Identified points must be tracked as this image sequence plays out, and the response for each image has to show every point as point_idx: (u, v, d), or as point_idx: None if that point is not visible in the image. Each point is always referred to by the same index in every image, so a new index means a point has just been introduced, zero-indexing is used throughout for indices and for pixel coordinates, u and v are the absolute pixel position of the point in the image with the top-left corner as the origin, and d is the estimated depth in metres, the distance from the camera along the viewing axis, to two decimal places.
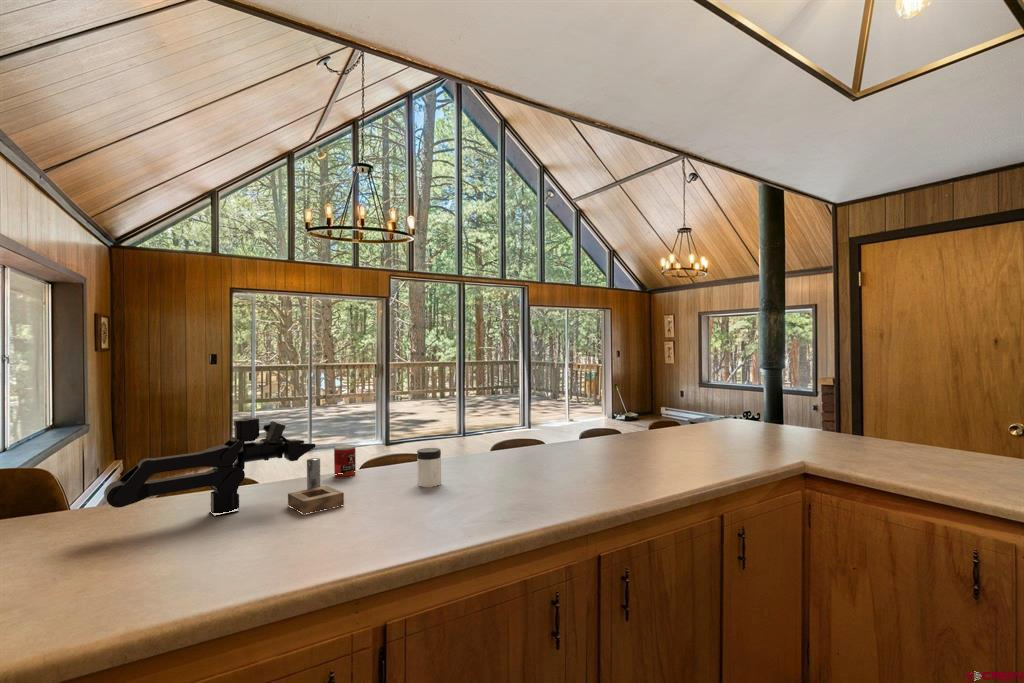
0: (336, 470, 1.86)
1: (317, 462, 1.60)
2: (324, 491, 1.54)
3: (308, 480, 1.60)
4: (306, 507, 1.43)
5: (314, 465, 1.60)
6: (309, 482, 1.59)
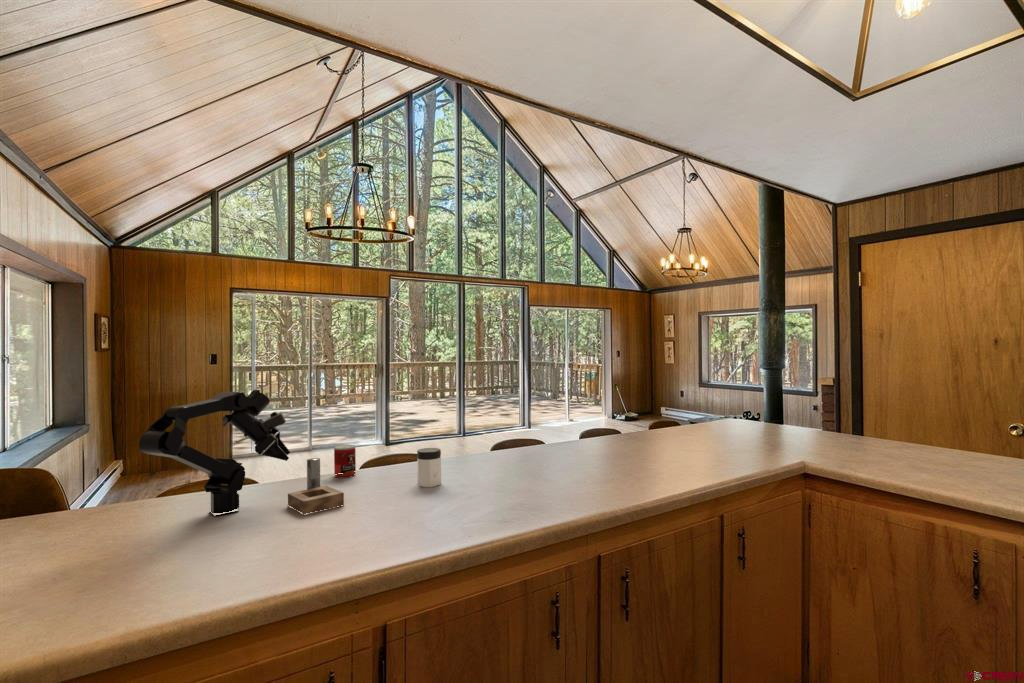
0: (336, 470, 1.86)
1: (317, 462, 1.60)
2: (324, 491, 1.54)
3: (308, 480, 1.60)
4: (306, 507, 1.43)
5: (314, 465, 1.60)
6: (309, 482, 1.59)
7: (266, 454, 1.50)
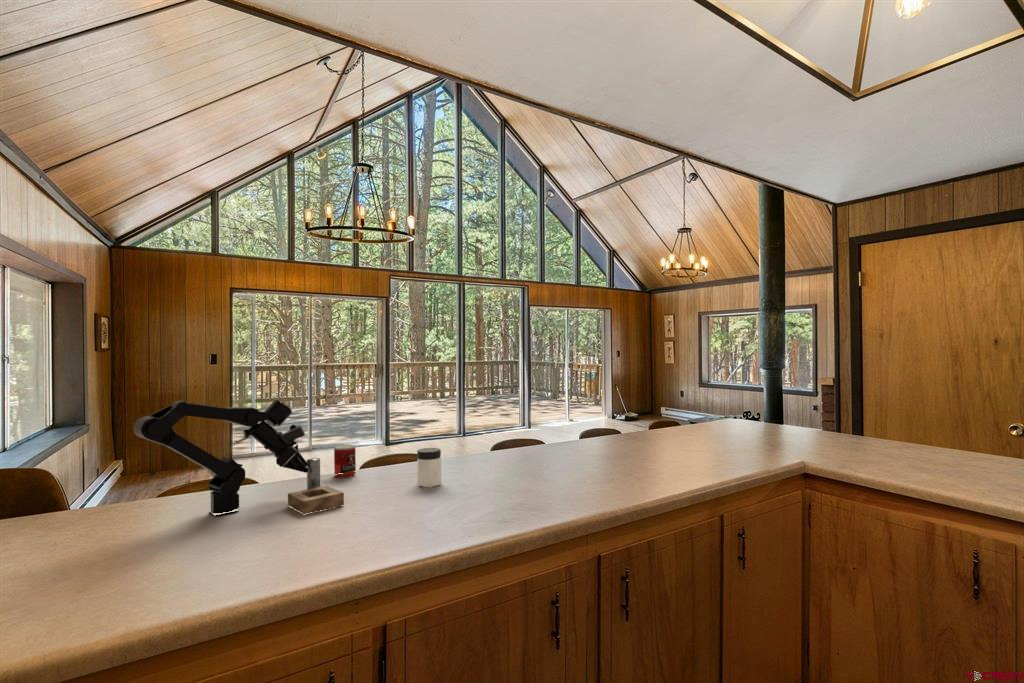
0: (336, 470, 1.86)
1: (317, 462, 1.60)
2: (324, 491, 1.54)
3: (308, 480, 1.60)
4: (306, 507, 1.43)
5: (314, 465, 1.60)
6: (309, 482, 1.59)
7: (287, 466, 1.53)
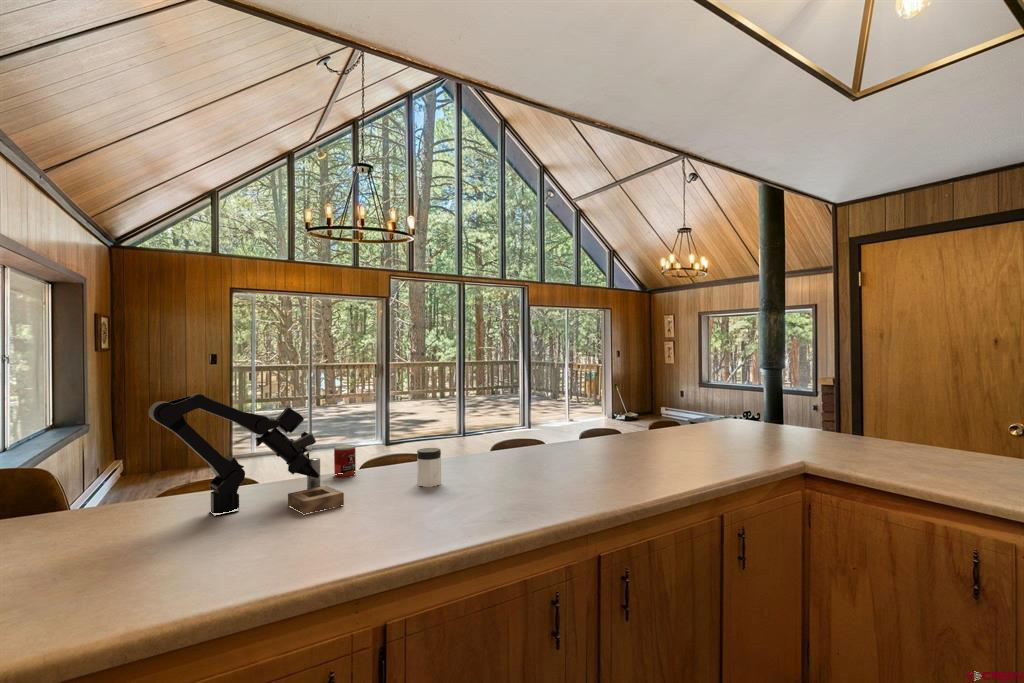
0: (336, 470, 1.86)
1: (317, 462, 1.60)
2: (324, 491, 1.54)
3: (308, 480, 1.60)
4: (306, 507, 1.43)
5: (314, 465, 1.60)
6: (309, 482, 1.59)
7: (298, 472, 1.56)
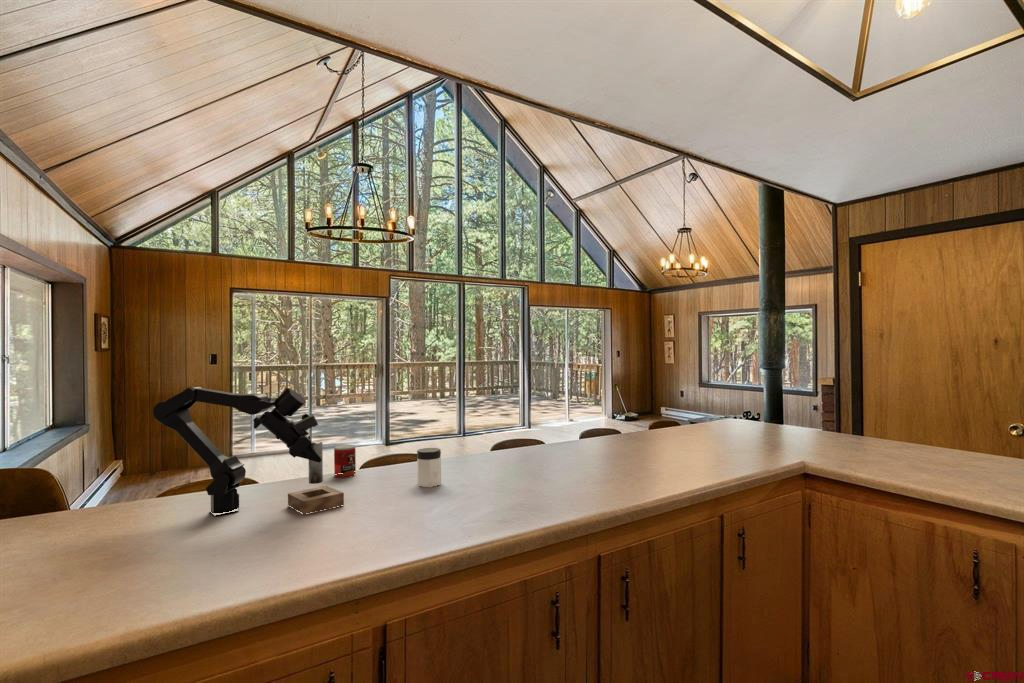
0: (336, 470, 1.86)
1: (319, 446, 1.51)
2: (324, 491, 1.54)
3: (310, 464, 1.50)
4: (306, 507, 1.43)
5: (316, 449, 1.51)
6: (311, 467, 1.50)
7: (300, 455, 1.47)
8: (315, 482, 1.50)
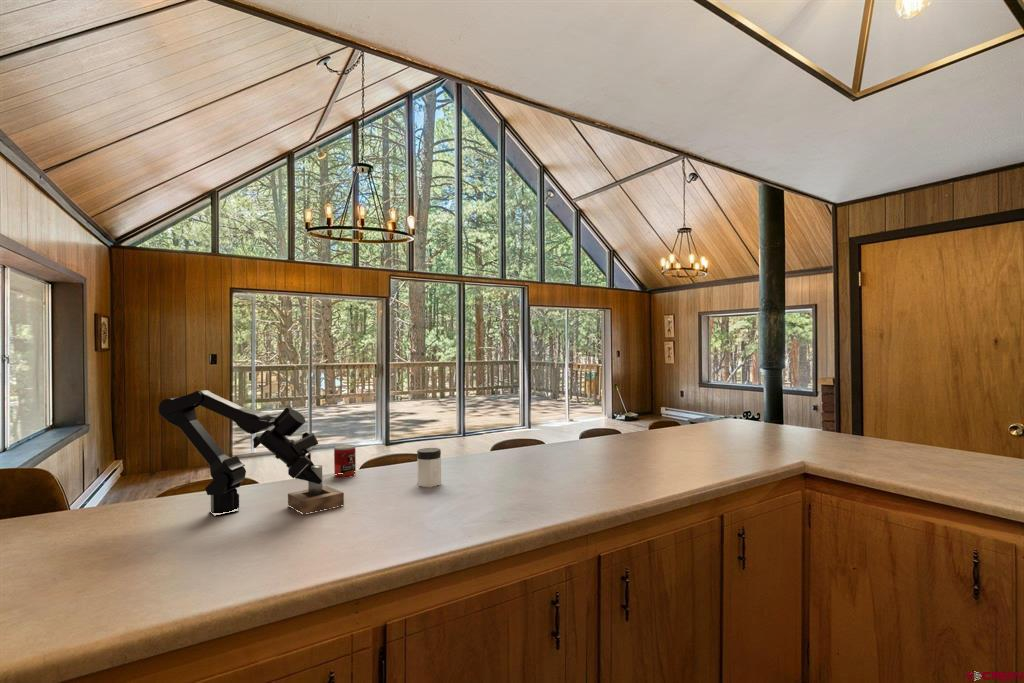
0: (336, 470, 1.86)
1: (319, 470, 1.50)
2: (324, 491, 1.54)
3: (309, 489, 1.49)
4: (306, 507, 1.43)
5: (316, 473, 1.49)
6: (311, 491, 1.49)
7: (299, 477, 1.43)
8: None
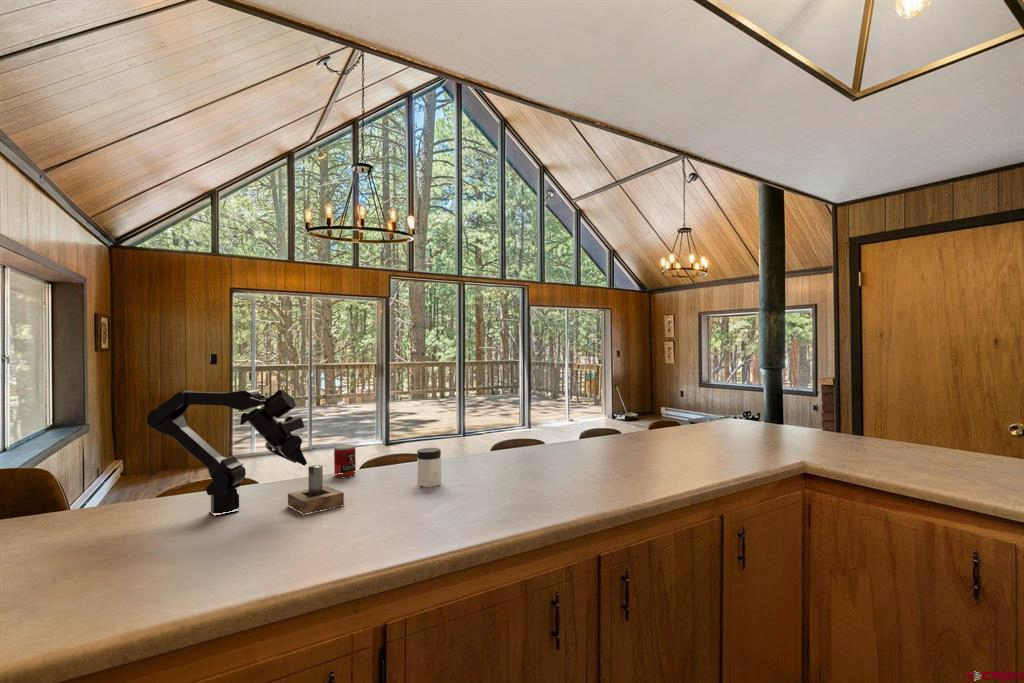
0: (336, 470, 1.86)
1: (319, 470, 1.50)
2: (324, 491, 1.54)
3: (310, 489, 1.49)
4: (306, 507, 1.43)
5: (316, 473, 1.49)
6: (311, 491, 1.49)
7: (288, 456, 1.45)
8: None
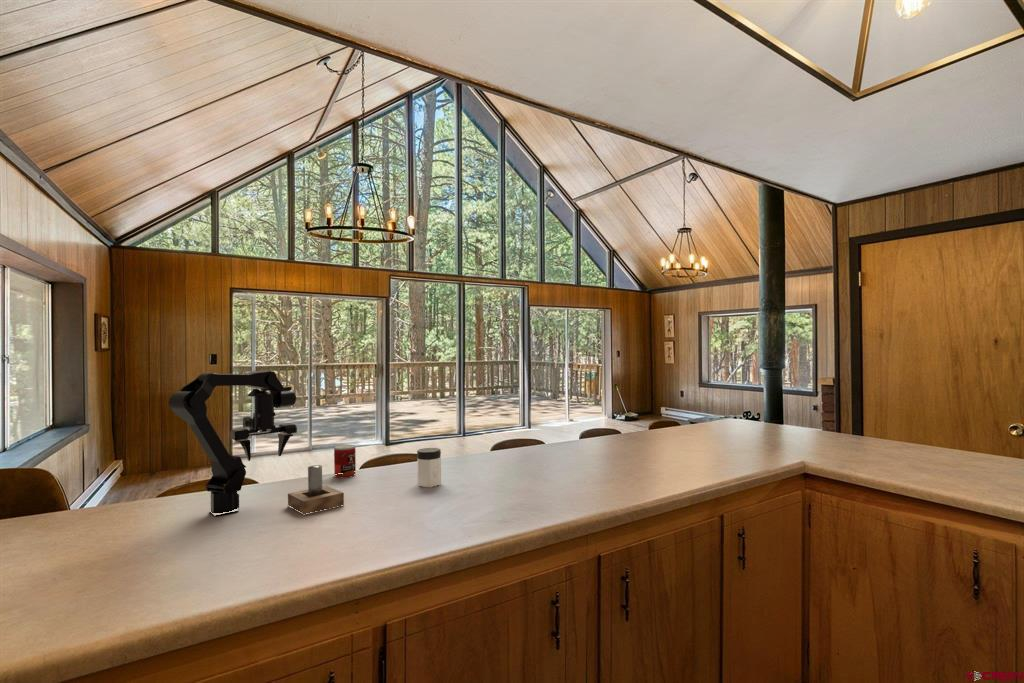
0: (336, 470, 1.86)
1: (319, 470, 1.50)
2: (324, 491, 1.54)
3: (309, 489, 1.49)
4: (306, 507, 1.43)
5: (316, 473, 1.49)
6: (310, 491, 1.49)
7: None
8: None
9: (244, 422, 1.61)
